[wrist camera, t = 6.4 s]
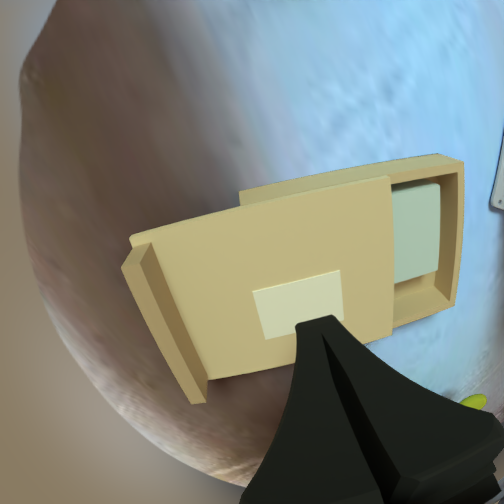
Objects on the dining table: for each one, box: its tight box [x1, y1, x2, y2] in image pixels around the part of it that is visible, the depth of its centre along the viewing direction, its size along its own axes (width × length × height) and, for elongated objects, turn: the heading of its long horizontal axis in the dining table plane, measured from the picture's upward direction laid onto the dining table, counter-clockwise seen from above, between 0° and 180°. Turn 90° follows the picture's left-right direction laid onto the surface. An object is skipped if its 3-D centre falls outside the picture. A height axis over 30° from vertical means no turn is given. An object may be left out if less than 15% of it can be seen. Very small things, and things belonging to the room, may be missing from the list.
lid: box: [121, 175, 394, 404], centre depth 17 cm, size 14×11×3 cm
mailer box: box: [239, 153, 464, 328], centre depth 19 cm, size 14×11×3 cm
